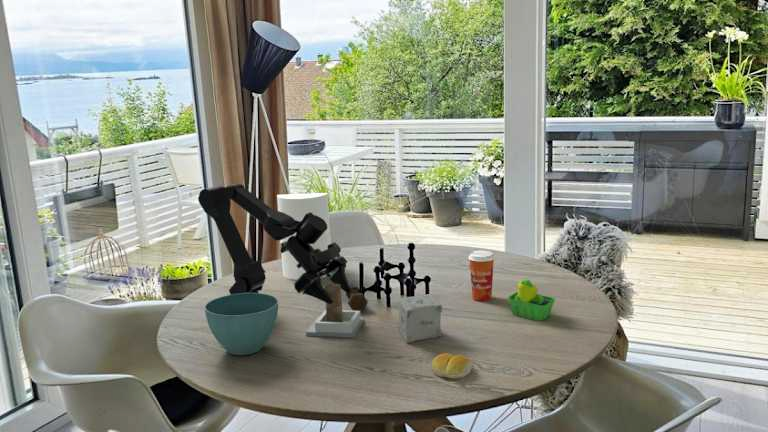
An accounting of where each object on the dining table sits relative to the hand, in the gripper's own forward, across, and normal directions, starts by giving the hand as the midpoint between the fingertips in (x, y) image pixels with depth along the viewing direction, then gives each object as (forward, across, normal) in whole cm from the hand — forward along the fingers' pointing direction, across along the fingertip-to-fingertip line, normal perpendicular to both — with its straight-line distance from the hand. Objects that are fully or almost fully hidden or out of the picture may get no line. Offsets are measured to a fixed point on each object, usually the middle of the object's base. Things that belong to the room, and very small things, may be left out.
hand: (341, 297), depth 183 cm
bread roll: (+33, -12, -19) cm, 40 cm away
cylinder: (-22, +40, +35) cm, 58 cm away
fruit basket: (+37, +29, -24) cm, 53 cm away
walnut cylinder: (+4, 0, +7) cm, 8 cm away
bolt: (+1, +20, +12) cm, 23 cm away
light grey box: (+22, +4, -9) cm, 24 cm away
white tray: (+5, 0, +8) cm, 9 cm away
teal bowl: (-5, -22, +18) cm, 29 cm away
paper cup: (+25, +38, -12) cm, 47 cm away
